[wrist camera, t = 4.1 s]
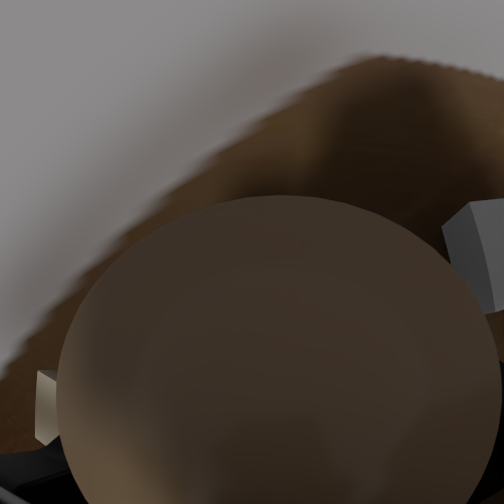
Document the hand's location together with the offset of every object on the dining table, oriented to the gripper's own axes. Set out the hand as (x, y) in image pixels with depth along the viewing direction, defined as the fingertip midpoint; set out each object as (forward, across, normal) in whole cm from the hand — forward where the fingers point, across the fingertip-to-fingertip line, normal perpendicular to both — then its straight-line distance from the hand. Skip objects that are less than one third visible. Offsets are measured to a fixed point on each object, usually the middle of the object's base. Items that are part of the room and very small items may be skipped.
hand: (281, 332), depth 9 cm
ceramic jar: (+4, 0, +6) cm, 7 cm away
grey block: (+6, -13, +4) cm, 15 cm away
